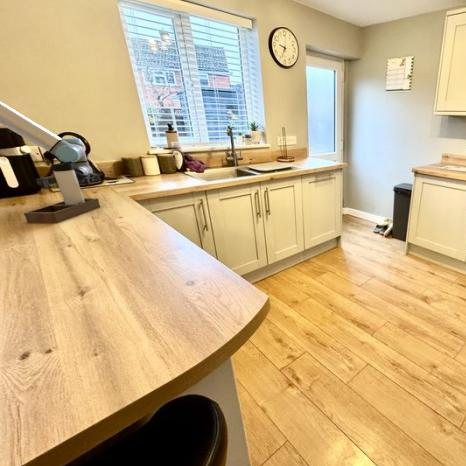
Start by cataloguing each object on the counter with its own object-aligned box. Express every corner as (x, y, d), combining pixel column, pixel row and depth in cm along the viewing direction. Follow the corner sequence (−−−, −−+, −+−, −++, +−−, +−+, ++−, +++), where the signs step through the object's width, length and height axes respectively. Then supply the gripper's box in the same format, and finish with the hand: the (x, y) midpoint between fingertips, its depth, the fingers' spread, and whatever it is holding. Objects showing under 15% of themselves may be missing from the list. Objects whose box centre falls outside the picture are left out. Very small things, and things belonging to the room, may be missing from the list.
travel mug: (87, 209, 124) (70, 162, 117) (66, 212, 121) (48, 163, 113) (89, 206, 129) (73, 160, 121) (69, 208, 125) (51, 161, 118)
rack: (28, 223, 110) (23, 213, 108) (75, 207, 130) (72, 198, 128) (58, 223, 110) (53, 213, 109) (100, 207, 130) (97, 198, 129)
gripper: (112, 180, 142) (106, 188, 125) (43, 185, 130) (26, 195, 113) (107, 164, 139) (101, 171, 122) (36, 168, 127) (18, 176, 110)
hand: (65, 183), depth 118 cm, fingers open, 13 cm apart
